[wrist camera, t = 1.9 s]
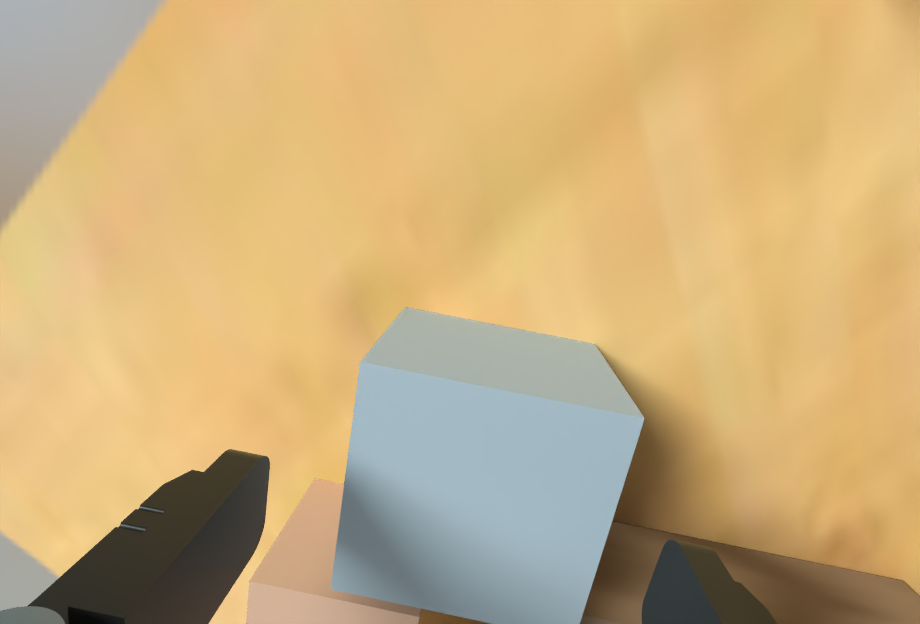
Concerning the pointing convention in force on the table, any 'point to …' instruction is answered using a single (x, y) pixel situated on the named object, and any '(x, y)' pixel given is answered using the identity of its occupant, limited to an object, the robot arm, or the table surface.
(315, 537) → the cube terracotta
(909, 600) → the plinth
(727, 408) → the table surface
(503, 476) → the block blue
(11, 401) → the table surface
